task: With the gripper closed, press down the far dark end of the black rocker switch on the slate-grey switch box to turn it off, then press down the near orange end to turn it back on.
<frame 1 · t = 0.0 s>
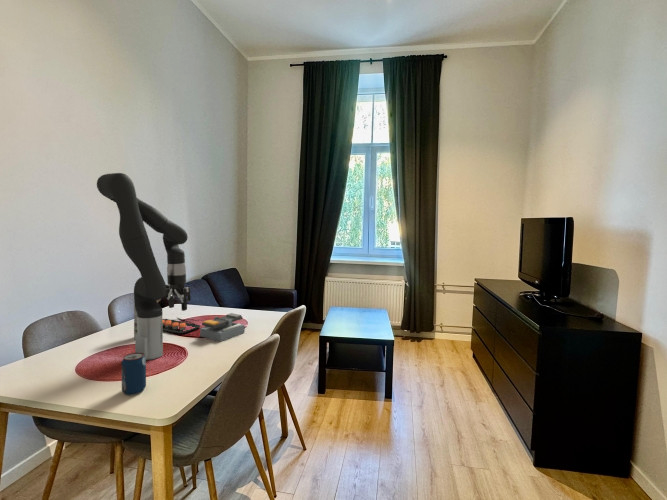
hand: (177, 308, 153), 17 cm above the table, tool pointing down, fingers open, 8 cm apart
switch box: (222, 334, 172), on the table
sushi plate: (183, 325, 188), on the table
breaker rocker: (223, 320, 172), point 7 cm above the table, hinge at 0.0°
soda can: (134, 391, 113), on the table
coffee box: (146, 336, 166), on the table
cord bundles: (222, 325, 172), point 4 cm above the table
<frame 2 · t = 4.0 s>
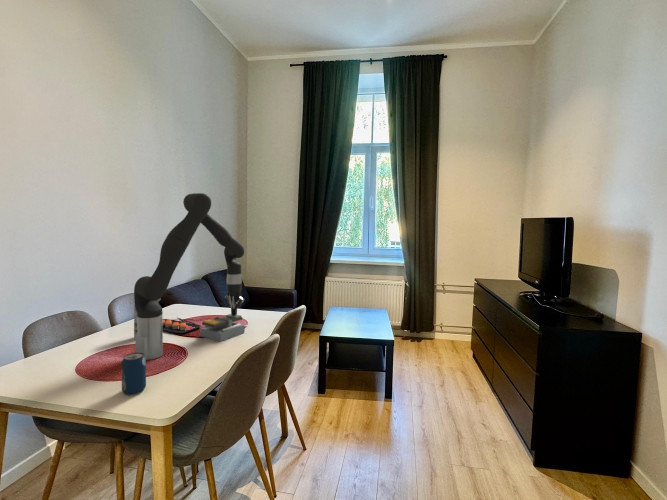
hand: (234, 315, 178), 8 cm above the table, tool pointing down, fingers closed
breaker rocker: (223, 320, 172), point 7 cm above the table, hinge at 1.9°, touching gripper
everything else where it was.
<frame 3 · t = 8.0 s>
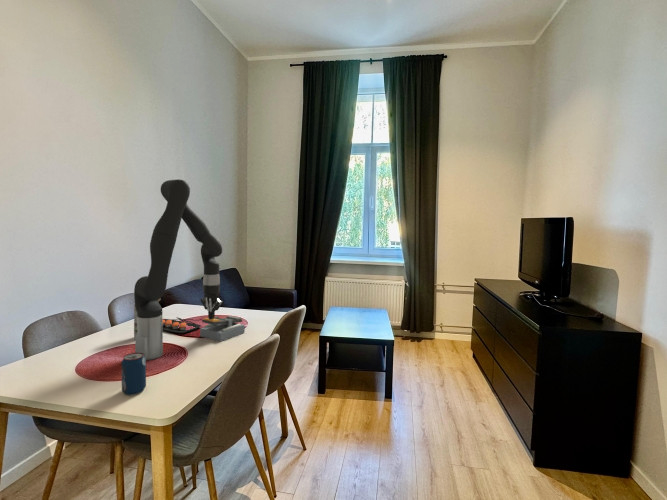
hand: (211, 318, 165), 10 cm above the table, tool pointing down, fingers closed
breaker rocker: (223, 320, 172), point 7 cm above the table, hinge at 9.5°, touching gripper
everything else where it was.
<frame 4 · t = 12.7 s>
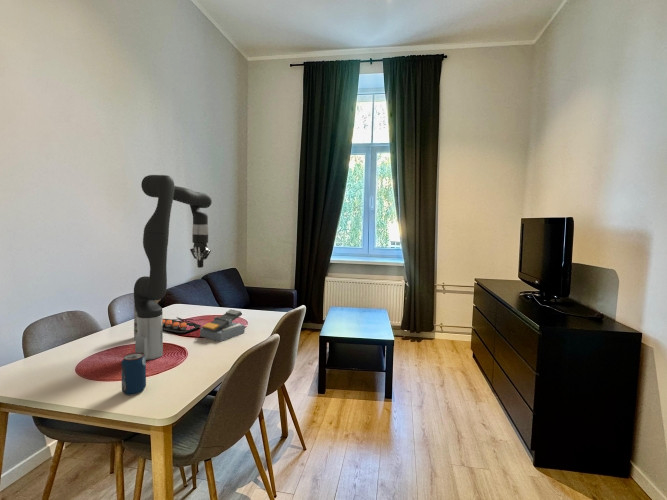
hand: (200, 267, 175), 33 cm above the table, tool pointing down, fingers closed
breaker rocker: (222, 320, 172), point 7 cm above the table, hinge at -13.6°
everything else where it was.
at the end: breaker rocker at -14° (first picture: +0°) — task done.
